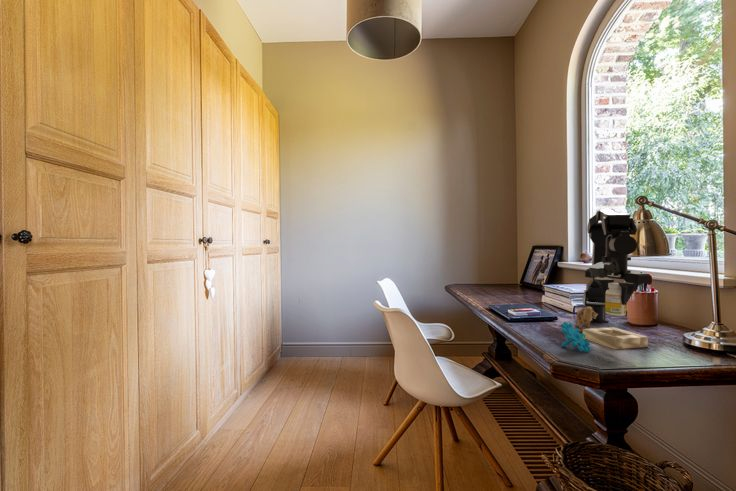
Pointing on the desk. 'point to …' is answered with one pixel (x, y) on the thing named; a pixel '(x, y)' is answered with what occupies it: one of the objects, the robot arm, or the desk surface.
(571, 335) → the teal lumpy piece
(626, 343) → the beige square frame
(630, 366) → the desk surface
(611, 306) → the supplement bottle
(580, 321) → the lion figurine
